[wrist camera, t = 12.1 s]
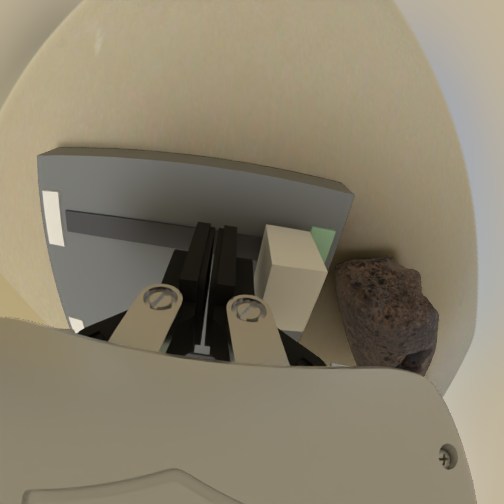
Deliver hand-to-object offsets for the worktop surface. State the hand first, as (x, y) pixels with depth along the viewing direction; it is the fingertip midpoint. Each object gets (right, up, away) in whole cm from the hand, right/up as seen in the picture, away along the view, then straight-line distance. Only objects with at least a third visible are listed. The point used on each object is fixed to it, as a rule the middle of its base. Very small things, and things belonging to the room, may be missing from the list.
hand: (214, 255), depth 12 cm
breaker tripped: (+3, 0, +1) cm, 3 cm away
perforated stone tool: (+11, -4, +7) cm, 13 cm away
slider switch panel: (-3, -2, +5) cm, 6 cm away
